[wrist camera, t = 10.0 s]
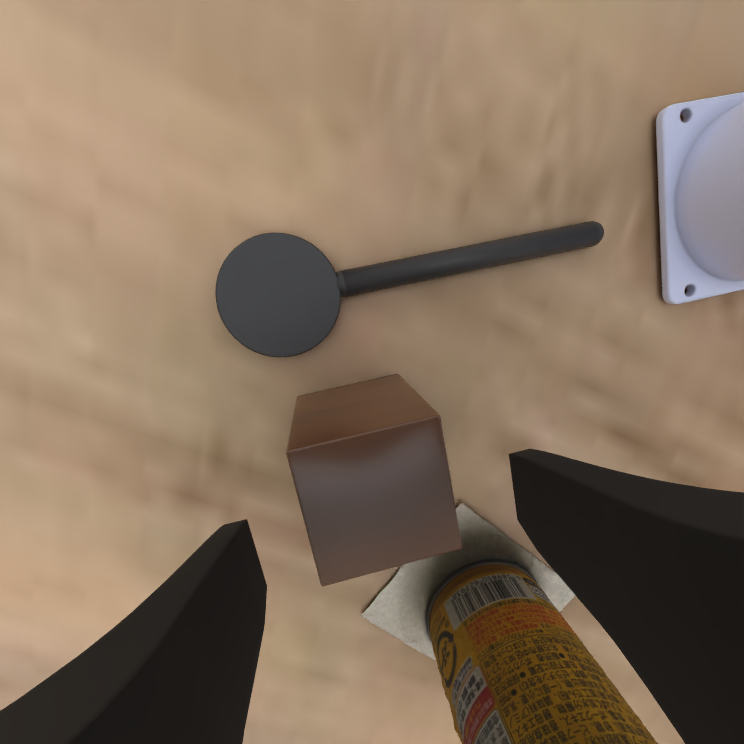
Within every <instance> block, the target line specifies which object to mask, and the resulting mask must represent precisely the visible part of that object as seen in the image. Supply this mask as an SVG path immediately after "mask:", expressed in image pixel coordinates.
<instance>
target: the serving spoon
mask: <svg viewBox="0 0 744 744" xmlns="http://www.w3.org/2000/svg"><path fill="white" fill-rule="evenodd" d="M603 235H604V229H603V227H602V225H601V224H600V223H598V222H594V221H590V222H585V223H580V224H575V225H570V226H565V227H560V228H555V229H550V230H544V231H539V232H534V233H529V234H524V235H519V236H514V237H509V238H504V239H499V240H494V241H489V242H484V243H479V244H474V245H469V246H464V247H459V248H454V249H449V250H444V251H439V252H434V253H429V254H424V255H419V256H414V257H409V258H404V259H399V260H394V261H389V262H384V263H379V264H374V265H369V266H364V267H359V268H354V269H349V270H344V271H339V272H337V273H335V271H334V268H333V267H332V265H331V263H330V262H329V260H328V259H327V258H326V256H325V255H324V254H323V253H322V252H321V251H320V250H319V249H318V248H316V247H315V246H314V245H313V244H311V243H309V242H308V241H306V240H304V239H302V238H299V237H297V236H294V235H290V234H284V233H266V234H261V235H257V236H254V237H252V238H250V239H248V240H246V241H244V242H242V243H241V244H240V245H238V246H237V247H236V248H235V249H234V250H233V251H232V252H231V253H230V254H229V255H228V257H227V258H226V259H225V261H224V263H223V265H222V267H221V268H220V271H219V274H218V278H217V283H216V302H217V307H218V311H219V314H220V316H221V319H222V321H223V323H224V325H225V326H226V328H227V329H228V331H229V332H230V333H231V334H232V335H233V336H234V338H235V339H237V340H238V341H239V342H240V343H241V344H243V345H244V346H245V347H247V348H249V349H251V350H252V351H254V352H257V353H260V354H262V355H267V356H271V357H290V356H295V355H299V354H302V353H304V352H307V351H309V350H311V349H312V348H314V347H316V346H317V345H318V344H319V343H321V342H322V341H323V340H324V339H325V338H326V337H327V335H328V334H329V333H330V331H331V330H332V328H333V326H334V324H335V322H336V320H337V317H338V314H339V310H340V302H341V297H348V296H352V295H357V294H362V293H367V292H372V291H377V290H382V289H387V288H391V287H396V286H401V285H406V284H411V283H416V282H421V281H426V280H430V279H435V278H440V277H445V276H450V275H455V274H460V273H465V272H469V271H474V270H479V269H484V268H489V267H494V266H499V265H504V264H508V263H513V262H518V261H523V260H528V259H533V258H538V257H543V256H547V255H552V254H557V253H562V252H567V251H572V250H577V249H582V248H586V247H591V246H594V245H596V244H598V243H599V242H600V241H601V240H602V238H603Z"/></svg>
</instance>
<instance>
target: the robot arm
mask: <svg viewBox="0 0 744 744" xmlns="http://www.w3.org/2000/svg"><path fill="white" fill-rule="evenodd" d="M680 113H681V114H682V117H683V121H681V119H680ZM656 138H657V164H658V191H659V218H660V244H661V271H662V295H663V299H664V301H665V302H666V303H668V304H681V303H686V302H690V301H695V300H699V299H704V298H708V297H713V296H717V295H722V294H726V293H730V292H735V291H739V290H744V92H740V93H734V94H729V95H723V96H717V97H711V98H706V99H700V100H694V101H689V102H683V103H677V104H672V105H670V106H668V107H666V108H664V109H662V110H661V111H660V112H659V114H658V116H657V119H656ZM686 287H687V292H686V294H685V292H684V291H685V288H686ZM509 458H510V466H511V474H512V481H513V489H514V496H515V504H516V512H517V519H518V521H519V523H520V524H521V526H522V528H523V529H524V531H525V532H526V534H527V535H528V537H529V539H530V540H531V541H532V543H533V544H534V546H535V547H536V549H537V550H538V552H539V553H540V554H541V555H542V557H543V558H544V559H545V560H546V561H547V562H548V564H549V565H550V566H551V567H552V568H553V570H554V571H555V572H556V573H557V574H558V575H559V577H560V578H561V579H562V580H563V581H564V582H565V584H566V585H567V586H568V587H569V588H570V589H571V591H572V592H573V593H574V594H575V595H576V596H577V598H578V599H579V600H580V601H581V602H582V603H583V604H584V606H585V607H586V608H587V609H588V610H589V611H590V613H591V614H592V615H593V616H594V617H595V618H596V620H597V621H598V622H599V623H600V624H601V626H602V627H603V628H604V629H605V631H606V632H607V633H608V634H609V636H610V637H611V638H612V639H613V641H614V642H615V643H616V645H617V646H618V647H619V649H620V650H621V652H622V653H623V654H624V656H625V657H626V659H627V660H628V661H629V663H630V664H631V666H632V667H633V668H634V670H635V671H636V672H637V674H638V675H639V677H640V678H641V679H642V681H643V682H644V684H645V685H646V687H647V688H648V689H649V691H650V692H651V694H652V695H653V697H654V698H655V700H656V701H657V703H658V704H659V705H660V707H661V708H662V710H663V711H664V713H665V714H666V716H667V717H668V719H669V720H670V722H671V723H672V724H673V726H674V727H675V729H676V730H677V732H678V733H679V735H680V736H681V738H682V739H683V741H684V742H685V744H744V493H742V492H732V491H723V490H715V489H707V488H700V487H694V486H688V485H682V484H676V483H670V482H664V481H659V480H654V479H649V478H645V477H640V476H636V475H632V474H627V473H623V472H619V471H615V470H611V469H607V468H603V467H599V466H596V465H592V464H588V463H585V462H581V461H578V460H574V459H570V458H567V457H563V456H560V455H556V454H552V453H548V452H544V451H540V450H534V449H527V450H523V451H519V452H515V453H511V454H509ZM266 593H267V585H266V581H265V578H264V575H263V571H262V568H261V565H260V561H259V558H258V555H257V551H256V548H255V544H254V541H253V538H252V534H251V531H250V528H249V524H248V521H247V519H246V520H242V521H238V522H233V523H229V524H225V525H223V526H222V527H220V528H219V529H218V530H217V531H216V532H215V533H214V534H213V535H212V536H210V537H209V538H208V539H207V540H206V541H205V542H204V543H203V544H202V545H201V546H200V547H199V548H198V549H197V550H196V551H195V552H194V553H193V554H192V555H191V556H190V557H189V558H188V559H187V560H186V561H185V562H184V563H183V564H182V565H181V566H180V567H179V568H178V569H177V570H176V571H175V572H174V573H173V574H172V575H171V576H170V577H169V578H168V579H167V580H166V581H165V582H164V583H163V584H162V585H161V586H160V587H159V588H158V589H156V590H155V591H154V592H153V593H152V594H151V595H150V596H149V597H148V598H147V599H146V600H145V601H144V602H142V603H141V604H140V605H139V606H138V607H137V608H136V609H135V610H134V611H133V612H132V613H130V614H129V615H128V616H127V617H126V618H125V619H124V620H122V621H121V622H120V623H119V624H118V625H116V626H115V627H114V628H113V629H112V630H110V631H109V632H108V633H107V634H105V635H104V636H103V637H102V638H100V639H99V640H98V641H97V642H95V643H94V644H93V645H92V646H90V647H89V648H88V649H87V650H85V651H84V652H83V653H81V654H80V655H79V656H78V657H76V658H75V659H73V660H72V661H71V662H69V663H68V664H67V665H65V666H64V667H62V668H61V669H60V670H58V671H57V672H55V673H54V674H53V675H51V676H50V677H48V678H47V679H46V680H44V681H43V682H41V683H40V684H39V685H37V686H36V687H35V688H33V689H32V690H30V691H29V692H28V693H26V694H25V695H23V696H22V697H20V698H19V699H18V700H16V701H15V702H13V703H12V704H10V705H9V706H7V707H6V708H4V709H2V710H1V711H0V744H242V742H243V736H244V729H245V724H246V719H247V714H248V708H249V703H250V698H251V693H252V688H253V683H254V678H255V673H256V668H257V662H258V657H259V652H260V647H261V641H262V636H263V630H264V624H265V611H266Z"/></svg>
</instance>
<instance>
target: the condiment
mask: <svg viewBox="0 0 744 744" xmlns="http://www.w3.org/2000/svg"><path fill="white" fill-rule="evenodd" d="M456 513H457V519H458V525H459V531H460V537H461V543H462V549H459V550H455V551H452V552H448V553H444V554H440V555H437V556H433V557H429V558H426V559H422V560H418V561H415V562H411V563H407V564H405V565H402V566H401V567H400V569H399V571H398V573H397V574H396V575H395V577H394V578H393V579H392V581H391V582H390V583H389V584H388V585H387V586H386V587H385V588H384V589H383V590H382V591H381V592H380V593H379V594H378V596H377V597H376V599H375V600H374V601H373V603H372V604H371V605H370V606H369V607H368V608H367V609H366V611H365V612H364V613H363V614H362V615H361V616H362V617H363V618H365V619H367V620H368V621H370V622H371V623H372V624H374V625H376V626H377V627H379V628H382V629H383V630H385V631H386V632H388V633H389V634H390V635H391V636H393V637H395V638H398V639H399V640H401V641H403V642H404V643H405V644H407V645H408V646H410V647H412V648H414V649H416V650H417V651H419V652H421V653H423V654H425V655H427V656H428V657H430V658H432V659H434V660H435V661H437V664H438V669H439V672H440V675H441V678H442V685H443V688H444V690H445V695H446V697H447V699H448V701H449V703H450V707H451V712H452V715H453V720H454V727H455V730H456V732H457V733H458V736H459V738H460V740H461V742H462V744H658V743H657V742H656V741H655V739H654V738H653V737H652V735H651V733H650V732H649V731H648V730H647V729H646V727H645V726H644V725H643V723H642V722H641V720H640V719H639V717H638V716H637V715H636V714H635V713H634V712H633V710H632V709H631V707H630V706H629V705H628V704H627V702H626V701H625V699H624V698H623V697H622V696H621V694H620V693H619V691H618V690H617V688H616V687H615V686H614V685H613V683H612V682H611V681H610V679H609V678H608V677H607V675H606V674H605V672H604V671H603V669H602V668H601V667H600V666H599V664H598V663H597V662H596V660H595V659H594V658H593V656H592V655H591V654H590V653H589V651H588V650H587V649H586V647H585V646H584V645H583V643H582V642H581V641H580V639H579V638H578V636H577V635H576V634H575V633H574V631H573V630H572V628H571V627H570V626H569V625H568V623H567V622H566V621H565V619H564V618H563V617H562V615H561V614H560V612H561V610H562V609H563V608H564V607H565V606H566V605H567V604H568V603H569V602H570V601H571V600H572V599H573V597H574V596H575V594H574V593H573V592H572V591H571V589H570V588H569V587H568V586H567V585H566V584H565V582H564V581H563V580H562V579H561V578H560V577H559V575H558V574H556V573H555V572H554V571H552V570H551V569H549V568H548V567H547V566H546V565H545V564H543V563H542V562H541V561H539V560H538V559H537V558H535V557H534V556H533V555H531V554H530V553H529V552H527V551H526V550H524V549H523V548H522V547H521V546H519V545H518V544H516V543H515V542H513V541H512V540H510V539H509V538H508V537H507V536H506V535H504V534H503V533H502V532H500V531H499V530H498V529H496V528H495V527H494V526H493V525H491V524H490V523H488V522H487V521H486V520H484V519H483V518H481V517H480V516H478V515H477V514H476V513H474V512H473V511H472V510H471V509H469V508H468V507H467V506H465V505H464V504H463V503H461V504H460V505H459V506H458V507H457V508H456Z"/></svg>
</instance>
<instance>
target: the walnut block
mask: <svg viewBox="0 0 744 744" xmlns="http://www.w3.org/2000/svg"><path fill="white" fill-rule="evenodd" d="M286 454H287V458H288V462H289V465H290V469H291V473H292V477H293V481H294V484H295V488H296V492H297V496H298V500H299V503H300V507H301V511H302V515H303V519H304V522H305V526H306V530H307V534H308V537H309V541H310V545H311V549H312V553H313V556H314V560H315V564H316V568H317V572H318V575H319V579H320V583H321V585H322V586H326V585H330V584H333V583H337V582H341V581H344V580H348V579H352V578H355V577H359V576H363V575H367V574H370V573H374V572H378V571H381V570H385V569H389V568H392V567H396V566H400V565H404V564H407V563H411V562H415V561H418V560H422V559H426V558H429V557H433V556H437V555H440V554H444V553H448V552H452V551H455V550H459V549H462V543H461V537H460V531H459V525H458V519H457V513H456V508H455V502H454V496H453V490H452V484H451V478H450V472H449V466H448V460H447V454H446V449H445V443H444V437H443V431H442V425H441V419H440V415H439V414H438V413H437V412H436V411H435V410H434V409H433V408H432V407H431V406H430V405H429V404H428V403H427V402H426V401H425V400H424V399H423V398H422V397H421V396H420V395H419V394H418V393H417V392H416V391H415V390H414V389H413V388H412V387H411V386H410V385H409V384H408V383H407V382H406V381H405V380H404V379H403V378H402V377H401V376H400V375H399V374H395V375H390V376H386V377H382V378H377V379H373V380H368V381H364V382H359V383H355V384H351V385H346V386H342V387H337V388H333V389H328V390H324V391H320V392H315V393H311V394H306V395H302V396H298V397H297V401H296V406H295V411H294V416H293V421H292V426H291V431H290V436H289V441H288V446H287V451H286Z"/></svg>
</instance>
